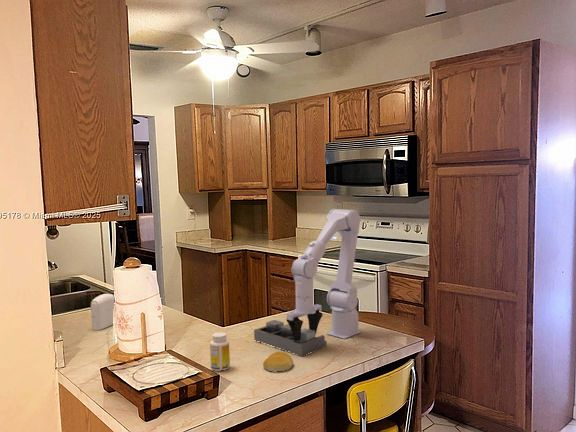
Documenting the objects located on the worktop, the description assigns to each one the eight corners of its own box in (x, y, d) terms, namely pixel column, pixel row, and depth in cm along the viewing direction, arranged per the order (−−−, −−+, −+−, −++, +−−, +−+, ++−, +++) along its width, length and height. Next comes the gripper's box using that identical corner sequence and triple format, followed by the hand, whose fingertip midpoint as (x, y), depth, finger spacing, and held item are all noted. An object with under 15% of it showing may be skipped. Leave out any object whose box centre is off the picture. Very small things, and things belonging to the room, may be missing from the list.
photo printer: (99, 331, 185) (97, 298, 184) (90, 330, 186) (88, 297, 185) (117, 323, 194) (116, 292, 193) (108, 322, 196) (107, 291, 195)
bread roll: (259, 371, 145) (259, 358, 144) (271, 360, 153) (271, 347, 153) (285, 375, 142) (285, 361, 141) (297, 363, 150) (296, 350, 150)
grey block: (305, 342, 165) (304, 328, 164) (315, 346, 161) (315, 330, 161) (296, 346, 162) (296, 331, 161) (307, 349, 159) (306, 333, 158)
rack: (279, 332, 179) (279, 316, 178) (326, 346, 163) (326, 328, 163) (254, 341, 170) (253, 324, 170) (301, 356, 155) (301, 338, 154)
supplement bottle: (230, 364, 150) (229, 330, 149) (229, 371, 145) (228, 336, 144) (211, 365, 150) (210, 331, 149) (210, 372, 144) (209, 337, 143)
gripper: (298, 302, 152) (298, 345, 154) (328, 293, 163) (328, 334, 164) (281, 298, 157) (282, 340, 158) (312, 290, 168) (312, 329, 169)
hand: (305, 337), depth 162 cm, fingers open, 7 cm apart
